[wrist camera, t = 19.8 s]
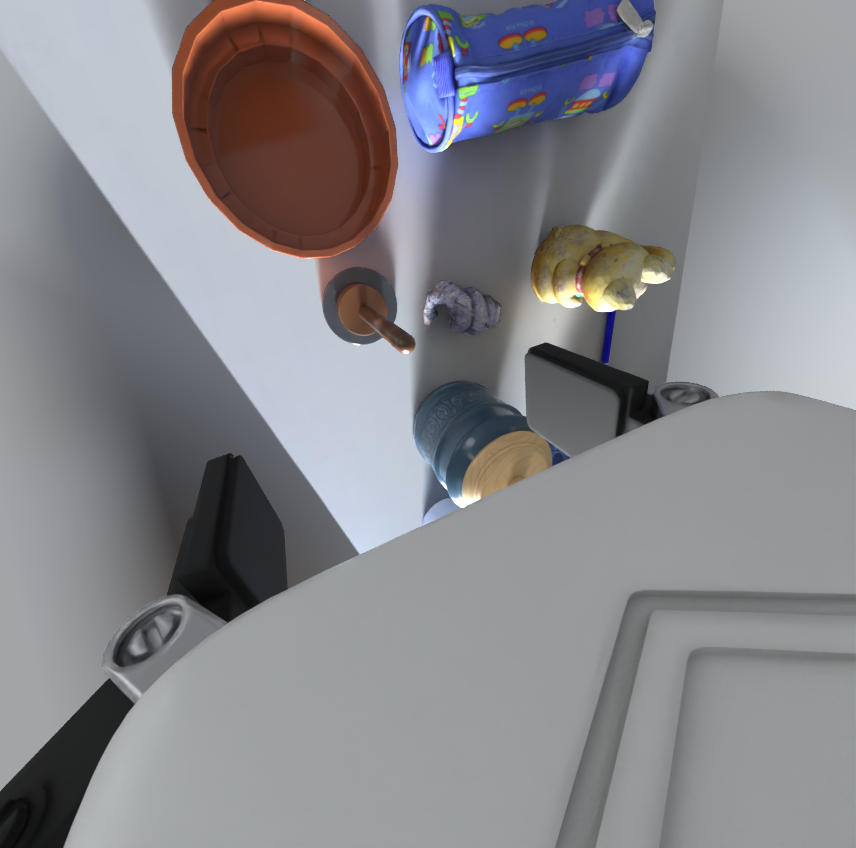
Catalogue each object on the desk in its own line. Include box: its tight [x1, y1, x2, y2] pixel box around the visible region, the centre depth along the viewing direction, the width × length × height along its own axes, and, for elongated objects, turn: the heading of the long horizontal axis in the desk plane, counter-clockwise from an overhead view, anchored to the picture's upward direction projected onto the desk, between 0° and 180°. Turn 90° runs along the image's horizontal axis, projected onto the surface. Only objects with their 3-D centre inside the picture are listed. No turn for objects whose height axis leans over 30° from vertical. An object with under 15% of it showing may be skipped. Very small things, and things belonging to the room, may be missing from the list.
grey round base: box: [323, 267, 397, 345], centre depth 38 cm, size 8×8×1 cm
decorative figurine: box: [531, 224, 676, 312], centre depth 38 cm, size 10×8×15 cm
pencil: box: [602, 310, 616, 365], centre depth 51 cm, size 17×1×1 cm, turn 8°
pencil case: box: [399, 0, 656, 152], centre depth 30 cm, size 22×9×10 cm, turn 104°
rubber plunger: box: [336, 283, 415, 354], centre depth 31 cm, size 5×5×16 cm
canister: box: [413, 381, 552, 508], centre depth 42 cm, size 13×13×18 cm
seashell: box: [423, 280, 501, 336], centre depth 40 cm, size 5×5×10 cm
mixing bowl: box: [172, 0, 398, 258], centre depth 28 cm, size 15×15×6 cm
